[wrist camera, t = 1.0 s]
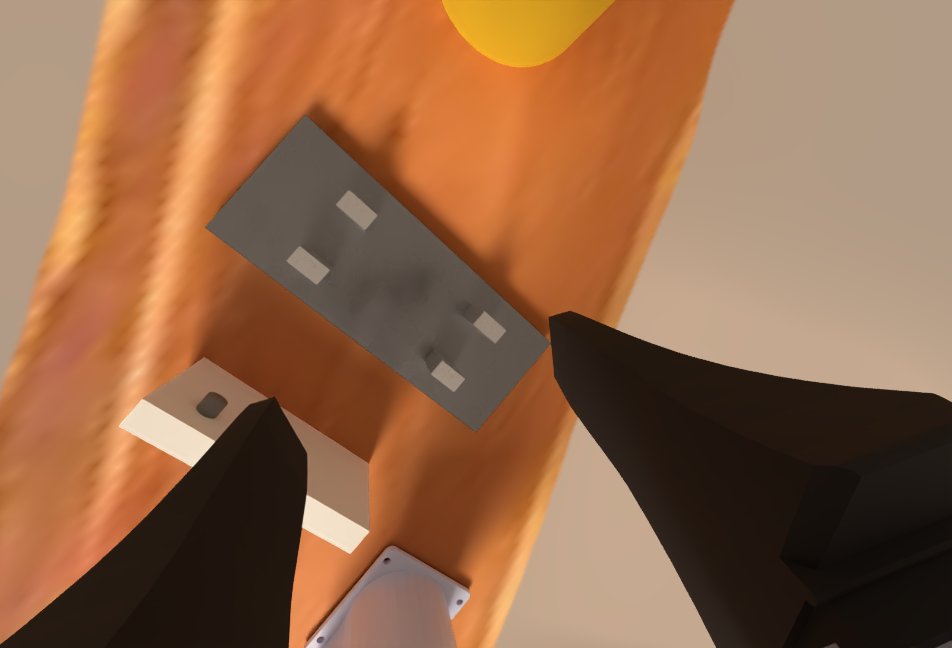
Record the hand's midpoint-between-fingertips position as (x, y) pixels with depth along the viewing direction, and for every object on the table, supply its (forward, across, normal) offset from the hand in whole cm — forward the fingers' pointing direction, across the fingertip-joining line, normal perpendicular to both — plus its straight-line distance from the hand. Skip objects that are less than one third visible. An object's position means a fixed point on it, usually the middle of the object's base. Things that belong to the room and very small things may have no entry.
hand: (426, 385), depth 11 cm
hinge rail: (+16, +1, +4) cm, 16 cm away
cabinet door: (+13, +10, +10) cm, 19 cm away
